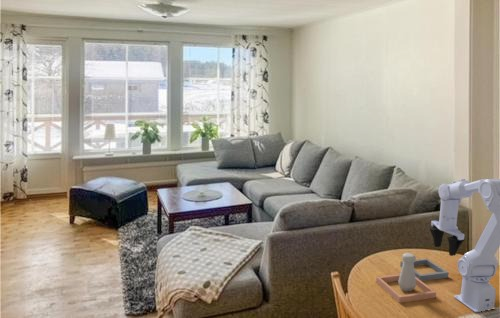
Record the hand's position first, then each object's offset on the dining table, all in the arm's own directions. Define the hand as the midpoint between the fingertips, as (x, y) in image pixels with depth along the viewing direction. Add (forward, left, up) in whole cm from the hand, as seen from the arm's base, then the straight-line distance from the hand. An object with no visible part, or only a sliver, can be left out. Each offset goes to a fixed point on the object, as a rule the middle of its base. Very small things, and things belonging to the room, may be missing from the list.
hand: (444, 250), depth 141 cm
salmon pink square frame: (-6, +20, -10) cm, 23 cm away
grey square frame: (+4, +5, -10) cm, 12 cm away
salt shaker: (-5, +19, -10) cm, 22 cm away
